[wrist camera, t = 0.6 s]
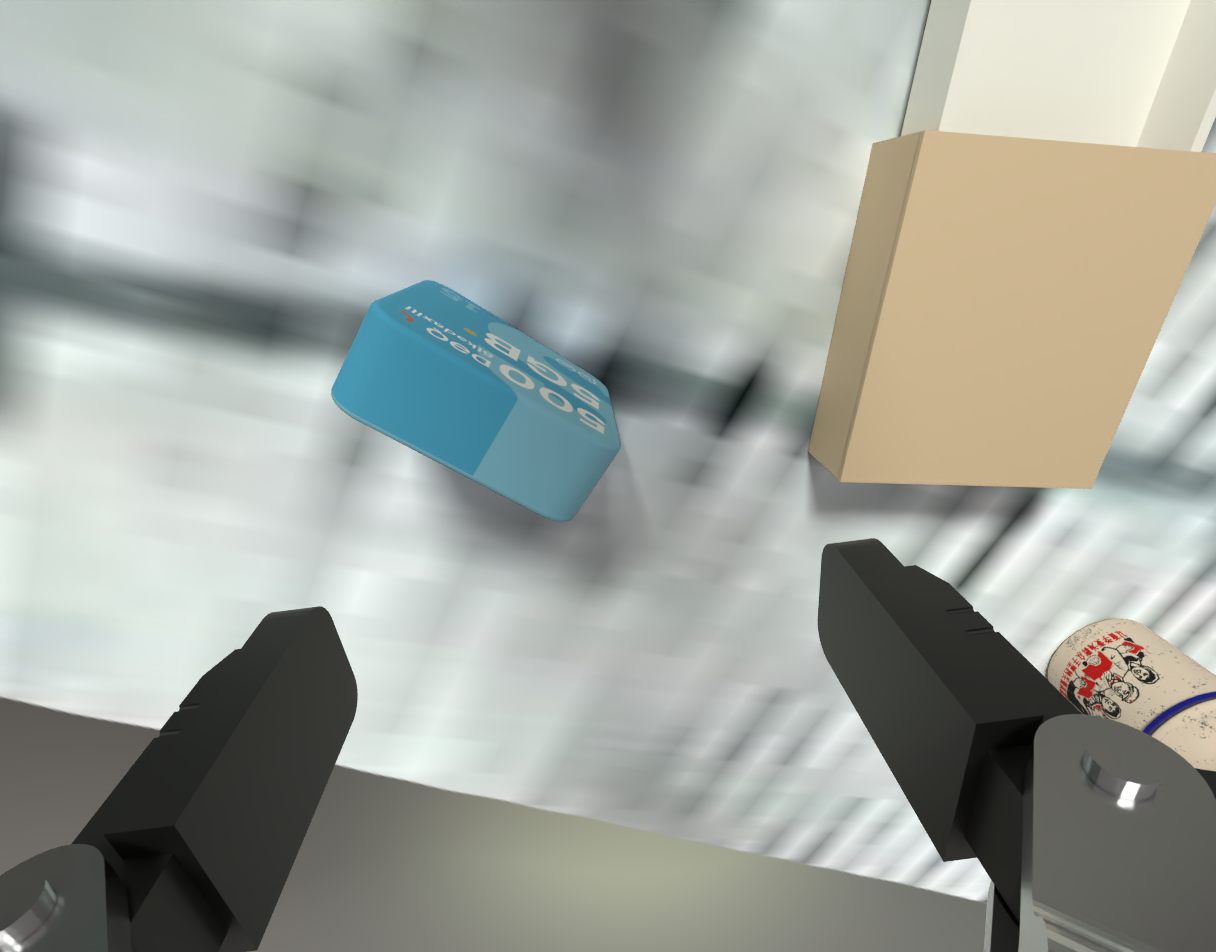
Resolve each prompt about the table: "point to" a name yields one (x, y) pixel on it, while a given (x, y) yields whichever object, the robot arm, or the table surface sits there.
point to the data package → (479, 399)
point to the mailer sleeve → (1002, 306)
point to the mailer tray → (1069, 71)
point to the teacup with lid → (1140, 686)
